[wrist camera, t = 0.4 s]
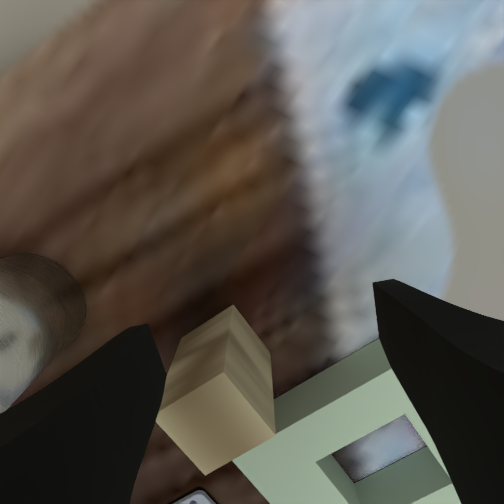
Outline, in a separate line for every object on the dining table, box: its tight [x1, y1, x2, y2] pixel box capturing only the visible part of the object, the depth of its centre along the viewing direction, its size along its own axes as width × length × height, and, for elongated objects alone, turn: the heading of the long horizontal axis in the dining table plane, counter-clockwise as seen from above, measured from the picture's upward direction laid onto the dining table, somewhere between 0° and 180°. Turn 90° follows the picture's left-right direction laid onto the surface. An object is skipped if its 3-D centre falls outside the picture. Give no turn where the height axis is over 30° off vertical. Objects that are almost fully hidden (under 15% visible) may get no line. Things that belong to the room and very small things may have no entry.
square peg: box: [156, 305, 276, 475], centre depth 20 cm, size 4×4×7 cm
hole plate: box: [232, 338, 461, 504], centre depth 24 cm, size 14×12×3 cm
